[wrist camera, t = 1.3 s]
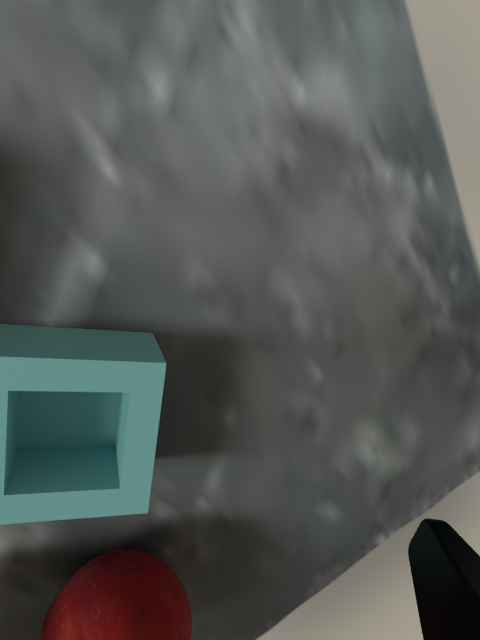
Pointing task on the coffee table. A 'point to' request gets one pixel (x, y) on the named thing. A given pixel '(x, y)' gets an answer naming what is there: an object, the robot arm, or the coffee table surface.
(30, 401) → the holed block
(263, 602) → the coffee table surface
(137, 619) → the apple
